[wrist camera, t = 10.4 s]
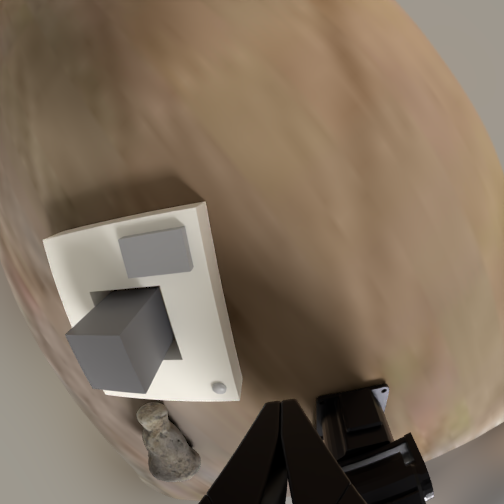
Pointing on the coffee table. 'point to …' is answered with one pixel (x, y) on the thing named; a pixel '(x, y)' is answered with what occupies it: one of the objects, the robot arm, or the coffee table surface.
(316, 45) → the coffee table surface
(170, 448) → the stone
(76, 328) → the plug
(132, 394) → the socket plate
